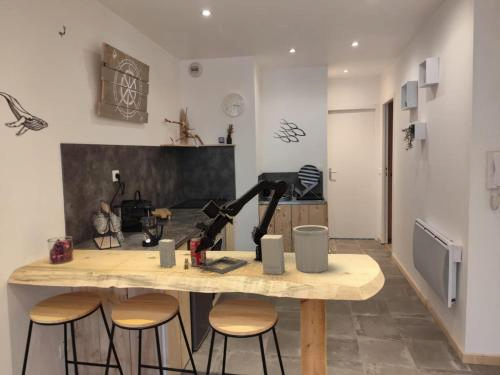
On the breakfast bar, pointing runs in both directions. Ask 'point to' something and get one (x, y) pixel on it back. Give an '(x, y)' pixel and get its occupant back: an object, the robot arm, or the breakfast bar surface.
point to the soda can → (197, 257)
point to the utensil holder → (311, 248)
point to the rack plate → (234, 262)
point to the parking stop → (186, 263)
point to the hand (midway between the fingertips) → (195, 250)
